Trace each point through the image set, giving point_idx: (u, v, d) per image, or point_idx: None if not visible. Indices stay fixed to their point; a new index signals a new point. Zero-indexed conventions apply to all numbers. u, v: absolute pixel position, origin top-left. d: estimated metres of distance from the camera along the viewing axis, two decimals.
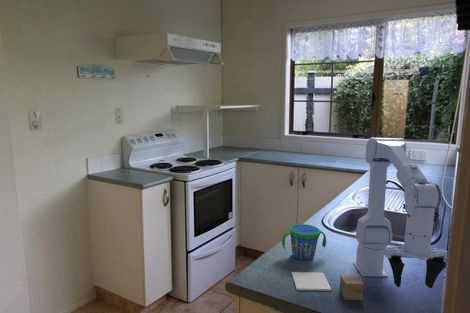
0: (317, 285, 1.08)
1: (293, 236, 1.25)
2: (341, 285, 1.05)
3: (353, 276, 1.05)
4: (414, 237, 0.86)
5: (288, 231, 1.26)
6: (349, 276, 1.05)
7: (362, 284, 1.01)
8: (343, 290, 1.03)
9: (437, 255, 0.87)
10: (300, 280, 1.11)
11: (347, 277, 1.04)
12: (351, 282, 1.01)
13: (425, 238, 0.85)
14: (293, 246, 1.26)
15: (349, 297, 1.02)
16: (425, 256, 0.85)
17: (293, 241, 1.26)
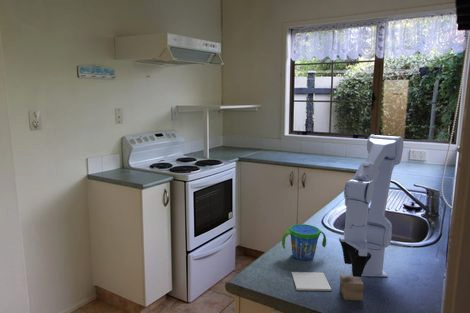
0: (317, 285, 1.08)
1: (293, 236, 1.25)
2: (341, 285, 1.05)
3: None
4: None
5: (288, 231, 1.26)
6: (349, 276, 1.05)
7: (362, 284, 1.01)
8: (343, 290, 1.03)
9: (353, 245, 0.97)
10: (300, 280, 1.11)
11: (347, 277, 1.04)
12: (351, 282, 1.01)
13: (346, 224, 1.00)
14: (293, 246, 1.26)
15: (349, 297, 1.02)
16: (342, 238, 1.01)
17: (293, 241, 1.26)
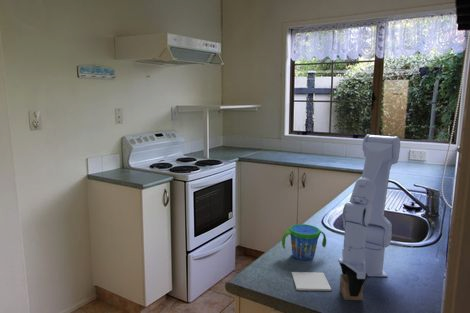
0: (317, 285, 1.08)
1: (293, 236, 1.25)
2: (341, 284, 1.05)
3: None
4: None
5: (288, 231, 1.26)
6: None
7: None
8: (343, 290, 1.03)
9: (351, 268, 0.98)
10: (300, 280, 1.11)
11: (347, 277, 1.04)
12: None
13: (344, 246, 1.01)
14: (293, 246, 1.26)
15: (349, 297, 1.01)
16: (341, 260, 1.02)
17: (293, 241, 1.26)
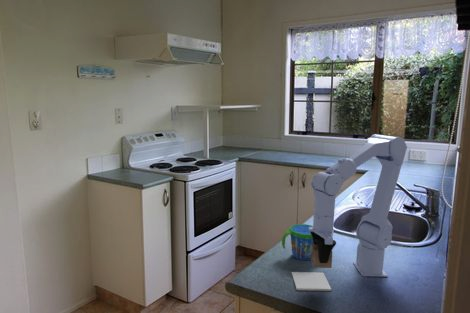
0: (317, 285, 1.08)
1: (293, 236, 1.25)
2: (311, 254, 1.09)
3: None
4: None
5: (288, 231, 1.26)
6: None
7: (331, 252, 1.05)
8: (313, 258, 1.07)
9: (320, 235, 1.02)
10: (300, 280, 1.11)
11: (317, 247, 1.08)
12: None
13: (314, 215, 1.05)
14: (293, 246, 1.26)
15: (319, 265, 1.06)
16: (311, 228, 1.06)
17: (293, 241, 1.26)
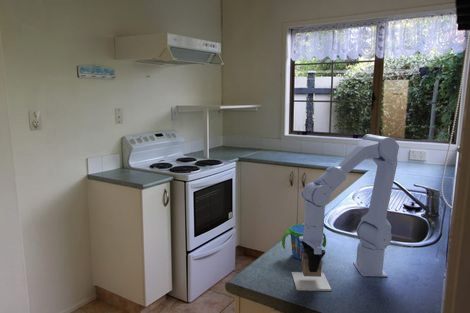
0: (317, 285, 1.08)
1: (293, 236, 1.25)
2: (302, 263, 1.11)
3: None
4: None
5: (288, 231, 1.26)
6: None
7: (320, 261, 1.07)
8: (303, 267, 1.09)
9: (309, 244, 1.05)
10: (300, 280, 1.11)
11: None
12: None
13: (304, 224, 1.08)
14: (293, 246, 1.26)
15: (308, 273, 1.08)
16: (301, 238, 1.08)
17: (293, 241, 1.26)
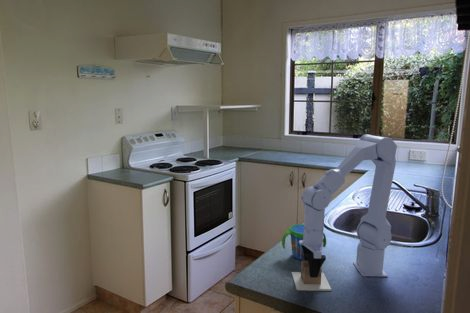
0: (317, 285, 1.08)
1: (293, 236, 1.25)
2: (301, 270, 1.12)
3: None
4: None
5: (288, 231, 1.26)
6: None
7: (320, 269, 1.08)
8: (303, 275, 1.09)
9: (309, 248, 1.05)
10: (300, 280, 1.11)
11: (307, 263, 1.11)
12: None
13: (304, 228, 1.08)
14: (293, 246, 1.26)
15: (308, 281, 1.08)
16: (301, 242, 1.09)
17: (293, 241, 1.26)
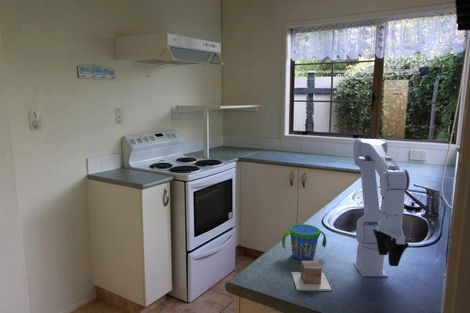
0: (317, 285, 1.08)
1: (293, 236, 1.25)
2: (301, 270, 1.12)
3: (313, 262, 1.12)
4: None
5: (288, 231, 1.26)
6: (309, 262, 1.12)
7: (320, 269, 1.08)
8: (303, 275, 1.09)
9: (390, 234, 0.98)
10: (300, 280, 1.11)
11: (307, 263, 1.11)
12: (309, 267, 1.08)
13: (381, 214, 1.01)
14: (293, 246, 1.26)
15: (308, 281, 1.08)
16: (378, 228, 1.02)
17: (293, 241, 1.26)
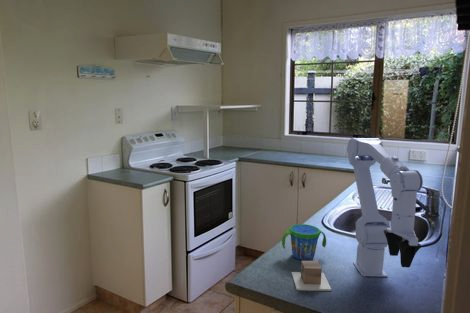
0: (317, 285, 1.08)
1: (293, 236, 1.25)
2: (301, 270, 1.12)
3: (313, 262, 1.12)
4: None
5: (288, 231, 1.26)
6: (309, 262, 1.12)
7: (320, 269, 1.08)
8: (303, 275, 1.09)
9: (402, 235, 0.98)
10: (300, 280, 1.11)
11: (307, 263, 1.11)
12: (309, 267, 1.08)
13: (393, 215, 1.01)
14: (293, 246, 1.26)
15: (308, 281, 1.08)
16: (390, 229, 1.01)
17: (293, 241, 1.26)
